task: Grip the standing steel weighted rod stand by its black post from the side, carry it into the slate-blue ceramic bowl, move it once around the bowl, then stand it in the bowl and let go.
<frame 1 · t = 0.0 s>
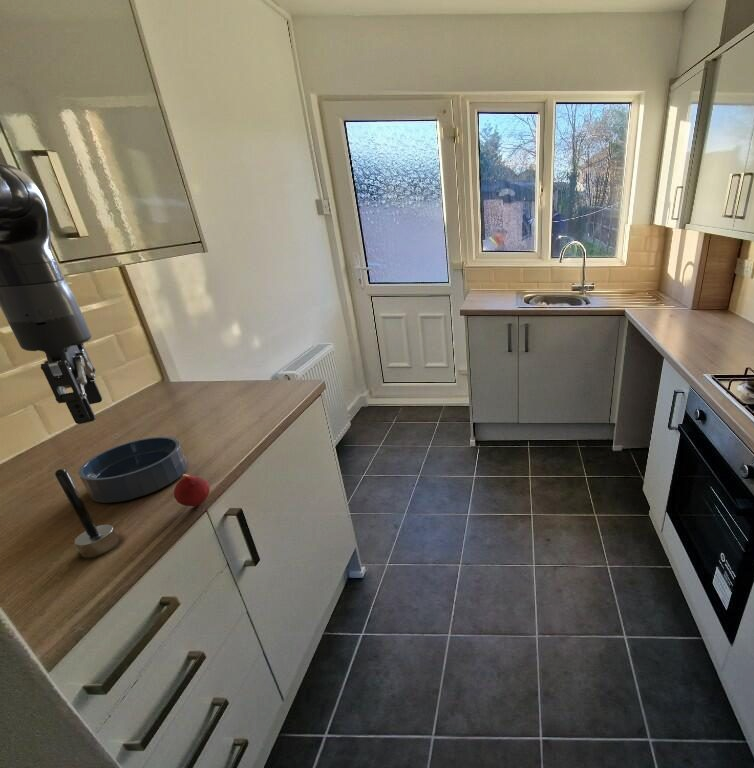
hand: (90, 411, 67), 28 cm above the countertop, tool pointing down, fingers open, 8 cm apart
bowl: (142, 480, 96), on the countertop
onion: (197, 506, 88), on the countertop
weighted rod stand: (100, 546, 77), on the countertop
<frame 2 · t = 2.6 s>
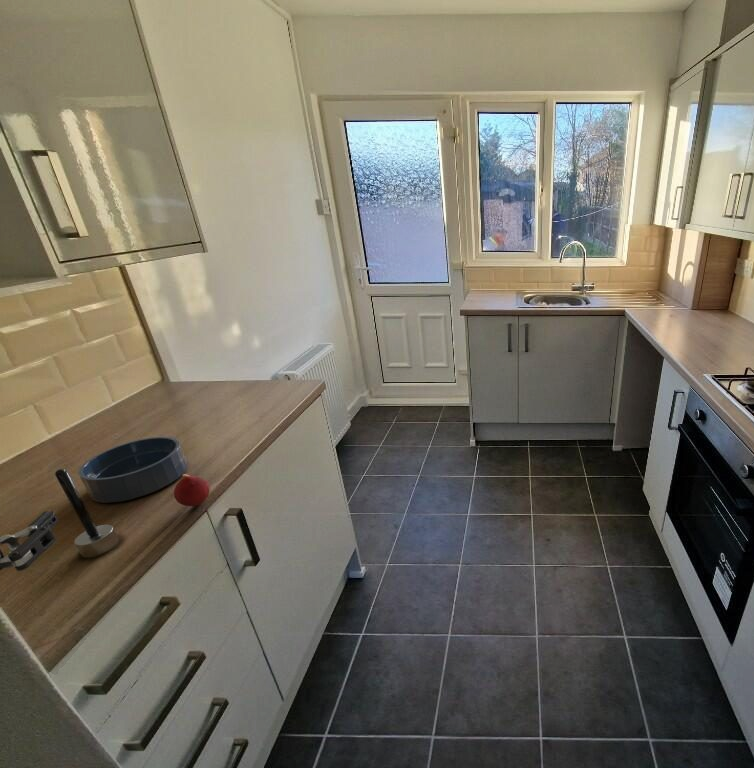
hand: (15, 521, 61), 15 cm above the countertop, tool horizontal, fingers open, 8 cm apart
nothing on the countertop moved.
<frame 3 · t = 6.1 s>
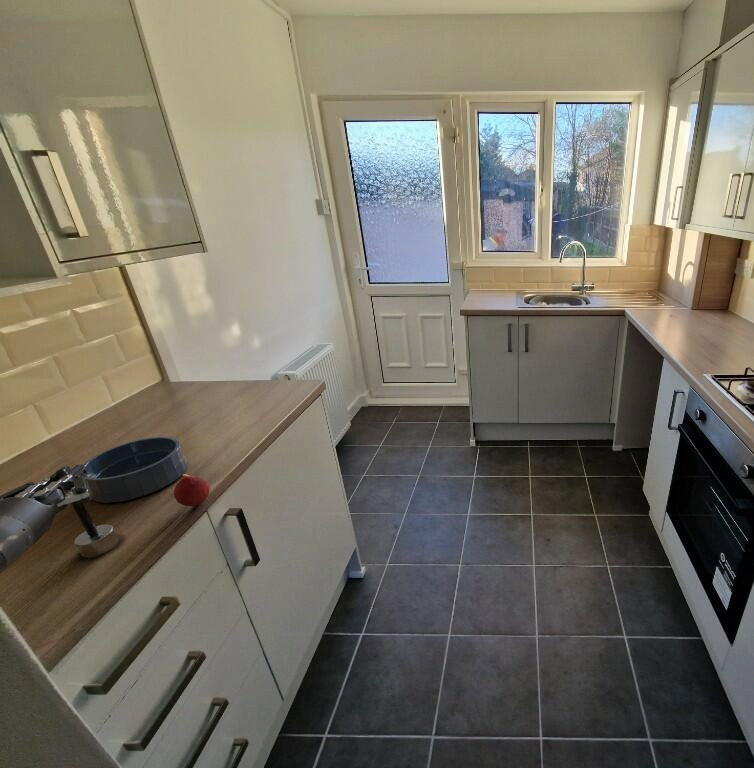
hand: (75, 469, 74), 15 cm above the countertop, tool horizontal, fingers closed on weighted rod stand
weighted rod stand: (100, 546, 77), on the countertop, touching gripper
everything else where it was.
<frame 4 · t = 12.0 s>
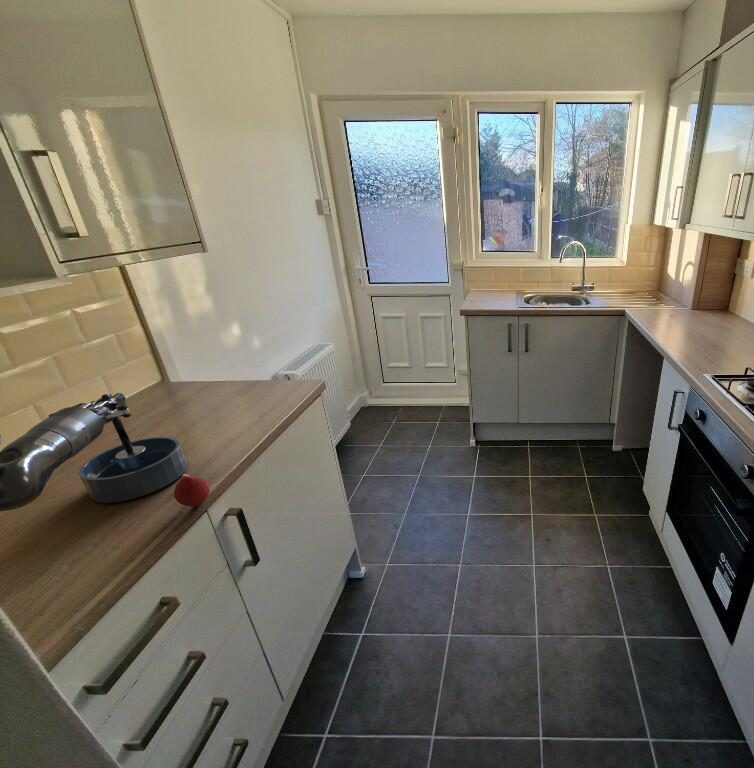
hand: (116, 397, 91), 20 cm above the countertop, tool horizontal, fingers closed on weighted rod stand
weighted rod stand: (135, 463, 94), point 5 cm above the countertop, touching gripper
everything else where it was.
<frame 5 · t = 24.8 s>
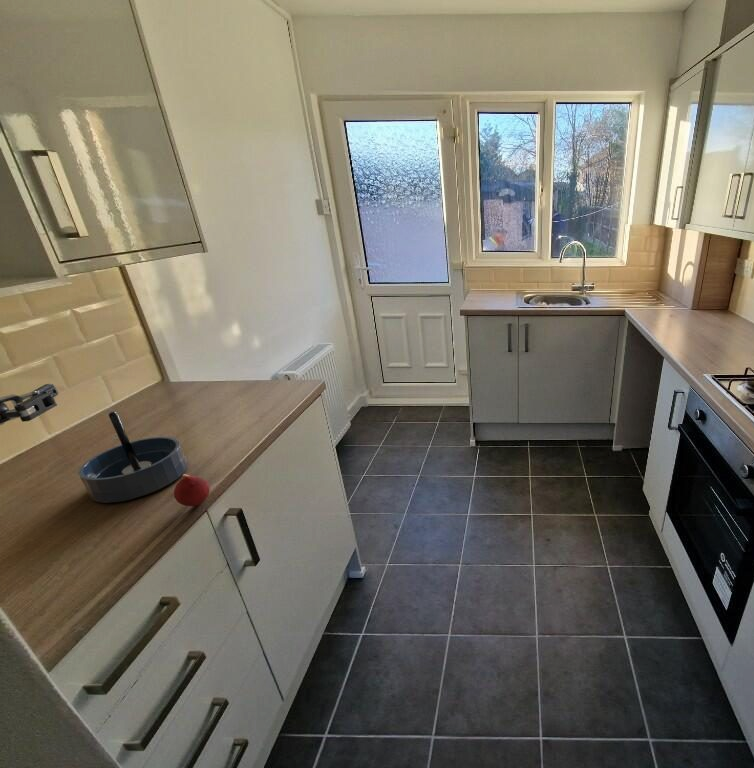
hand: (20, 392, 69), 30 cm above the countertop, tool horizontal, fingers open, 8 cm apart
weighted rod stand: (141, 478, 96), point 1 cm above the countertop, touching bowl
everything else where it was.
at the end: weighted rod stand inside the target area in the bowl (0.1 cm from its centre), point 0.6 cm above the bowl's base; weighted rod stand moved 22.5 cm from its start; the gripper is holding nothing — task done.
